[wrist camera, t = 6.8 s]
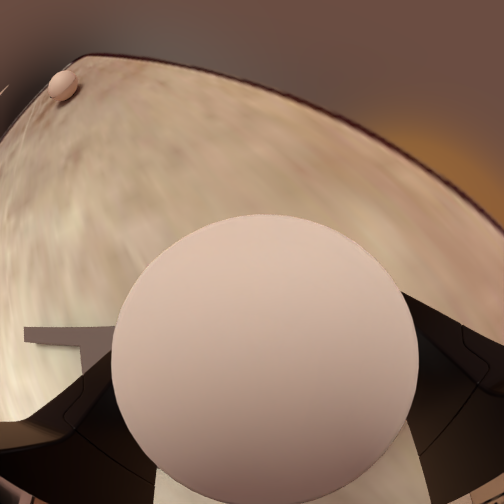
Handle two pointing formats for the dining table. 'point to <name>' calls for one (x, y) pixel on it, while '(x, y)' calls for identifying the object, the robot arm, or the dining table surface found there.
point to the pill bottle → (264, 360)
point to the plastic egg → (62, 85)
